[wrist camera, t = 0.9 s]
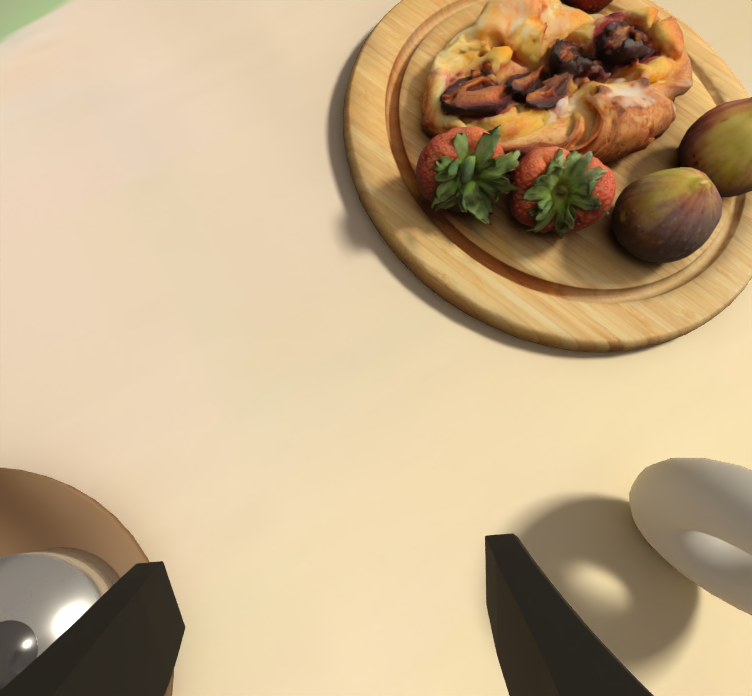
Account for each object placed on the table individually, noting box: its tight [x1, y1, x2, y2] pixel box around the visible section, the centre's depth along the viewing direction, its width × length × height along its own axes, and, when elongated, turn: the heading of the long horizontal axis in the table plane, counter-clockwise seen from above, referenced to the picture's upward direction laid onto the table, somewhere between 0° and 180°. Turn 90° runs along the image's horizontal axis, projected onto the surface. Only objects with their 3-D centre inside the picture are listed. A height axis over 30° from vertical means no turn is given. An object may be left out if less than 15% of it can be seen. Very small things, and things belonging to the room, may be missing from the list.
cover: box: [0, 547, 120, 690], centre depth 19 cm, size 7×7×3 cm
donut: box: [629, 458, 752, 615], centre depth 22 cm, size 10×4×10 cm, turn 48°
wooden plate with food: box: [343, 0, 752, 352], centre depth 31 cm, size 32×32×8 cm
